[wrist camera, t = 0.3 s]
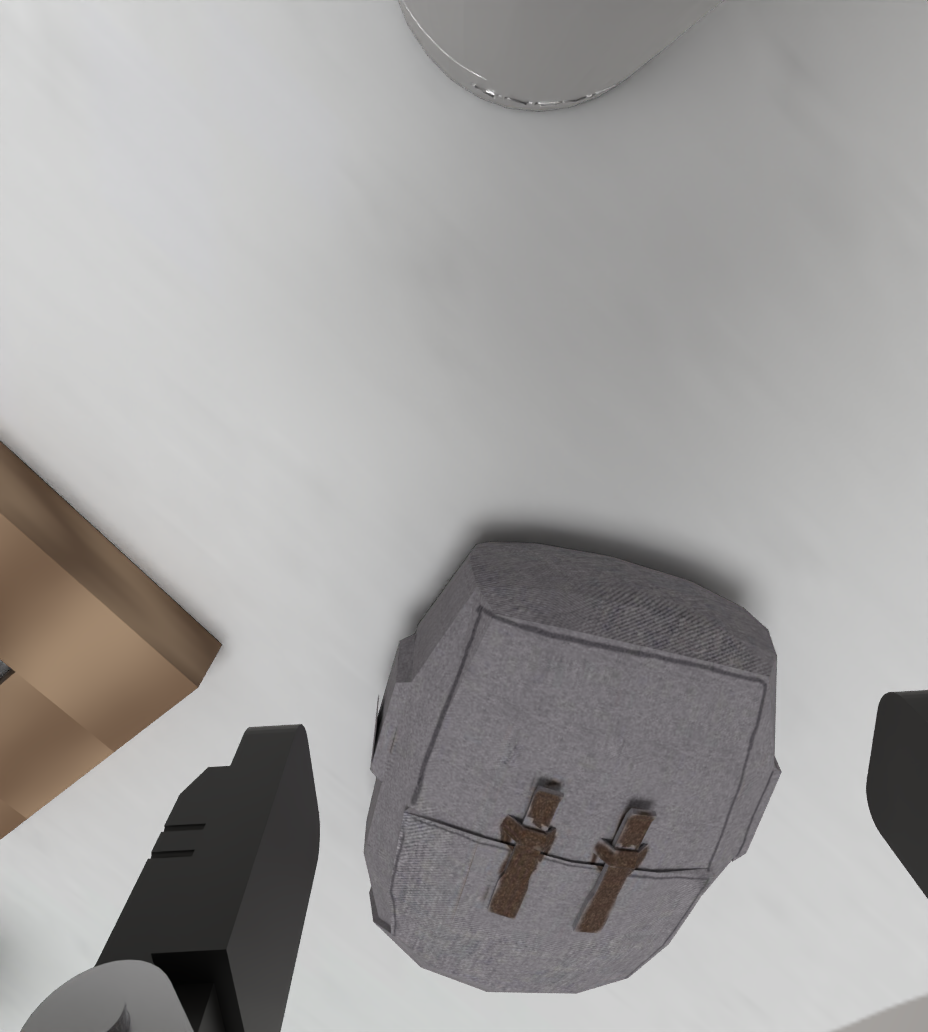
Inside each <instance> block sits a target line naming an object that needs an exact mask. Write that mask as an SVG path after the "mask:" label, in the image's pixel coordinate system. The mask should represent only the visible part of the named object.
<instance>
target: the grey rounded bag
mask: <svg viewBox="0 0 928 1032" xmlns="http://www.w3.org/2000/svg"><path fill="white" fill-rule="evenodd" d="M776 675H777V655H776V652H775V649H774V646H773V643H772V640H771V637H770V634H769V631H768V629H767V628H766V627H764V626H763V625H762V624H761V623H760V622H759V621H758V620H757V619H756V618H754V617H753V616H752V615H751V614H750V613H749V612H748V611H747V610H746V609H744V608H743V607H741V606H739V605H737V604H735V603H733V602H731V601H729V600H727V599H725V598H723V597H721V596H719V595H717V594H715V593H713V592H711V591H709V590H707V589H705V588H703V587H701V586H699V585H697V584H695V583H693V582H692V581H689V580H686V579H683V578H679V577H676V576H673V575H670V574H667V573H663V572H660V571H657V570H654V569H650V568H647V567H644V566H641V565H637V564H634V563H631V562H628V561H624V560H621V559H618V558H614V557H611V556H607V555H601V554H595V553H590V552H584V551H578V550H573V549H567V548H562V547H556V546H550V545H545V544H539V543H517V542H486V543H481V544H476V545H475V547H474V548H473V549H472V551H471V552H470V554H469V555H468V556H467V558H466V559H465V561H464V562H463V563H462V565H461V566H460V567H459V569H458V570H457V572H456V573H455V574H454V576H453V577H452V579H451V580H450V581H449V583H448V584H447V585H446V587H445V588H444V590H443V591H442V592H441V594H440V595H439V597H438V598H437V599H436V601H435V602H434V603H433V605H432V606H431V608H430V609H429V610H428V612H427V613H426V615H425V616H424V617H423V619H422V620H421V621H420V623H419V624H418V627H417V630H416V634H414V635H412V636H409V637H407V638H405V639H403V640H401V641H400V643H399V646H398V649H397V653H396V656H395V659H394V663H393V666H392V670H391V673H390V676H389V680H388V683H387V686H386V690H385V693H384V696H383V700H382V703H381V707H380V710H379V713H378V702H379V696H378V702H377V713H376V724H375V733H374V742H373V750H372V759H371V768H370V770H371V771H372V772H373V773H374V775H375V776H376V781H375V786H374V790H373V795H372V799H371V803H370V808H369V812H368V816H367V821H366V832H365V844H364V856H365V860H366V865H367V869H368V873H369V877H370V882H371V889H370V892H369V894H370V901H371V908H372V915H373V922H374V923H375V924H376V925H377V926H379V927H380V928H381V929H382V930H383V931H384V932H385V933H386V934H387V935H388V936H389V937H390V938H391V939H392V940H393V941H394V942H395V943H396V944H397V945H398V946H399V947H400V948H401V949H402V950H403V951H404V952H406V953H407V954H408V955H409V956H410V957H411V958H412V959H413V960H414V961H415V962H416V963H417V964H418V965H419V966H420V967H422V968H424V969H427V970H430V971H432V972H435V973H438V974H440V975H443V976H446V977H449V978H451V979H454V980H457V981H459V982H462V983H465V984H467V985H470V986H473V987H476V988H478V989H481V990H484V991H486V992H522V993H575V994H576V993H579V992H583V991H586V990H589V989H593V988H596V987H599V986H603V985H606V984H610V983H613V982H616V981H620V980H623V979H626V978H628V977H630V976H631V975H632V974H633V973H635V972H636V971H637V970H638V969H639V968H641V967H642V966H643V965H644V964H645V963H647V962H648V961H649V960H650V959H651V958H653V957H654V956H655V955H656V954H657V953H659V952H660V951H661V950H662V949H663V948H665V947H666V946H667V945H668V944H669V943H670V942H671V940H672V939H673V937H674V936H675V934H676V933H677V931H678V930H679V928H680V927H681V925H682V924H683V922H684V921H685V920H686V918H687V917H688V915H689V914H690V912H691V911H692V909H693V908H694V906H695V905H696V903H697V902H698V900H699V899H700V897H701V896H702V895H703V893H704V892H705V891H706V890H707V889H708V888H709V886H710V885H711V884H712V883H713V882H714V880H715V879H716V878H717V877H718V876H719V875H720V873H721V872H722V871H723V870H724V869H725V867H726V866H727V865H728V864H729V863H730V861H731V860H732V861H734V860H736V859H737V858H739V857H741V856H742V855H744V854H745V853H746V852H747V850H748V848H749V845H750V843H751V841H752V838H753V836H754V834H755V832H756V829H757V827H758V825H759V822H760V820H761V818H762V816H763V813H764V811H765V809H766V806H767V804H768V802H769V799H770V797H771V795H772V793H773V790H774V788H775V786H776V783H777V781H778V779H779V777H780V774H781V770H780V768H779V765H778V763H777V760H776V758H775V756H774V753H775V714H776ZM377 714H378V717H377Z"/></svg>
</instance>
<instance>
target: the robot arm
mask: <svg viewBox="0 0 928 1032" xmlns="http://www.w3.org/2000/svg"><path fill="white" fill-rule="evenodd" d="M398 1H399V4H400V6H401V9H402V11H403V14H404V16H405V19H406V21H407V24H408V26H409V27H410V29H411V30H412V32H413V34H414V35H415V37H416V38H417V40H418V41H419V43H420V45H421V46H422V48H423V49H424V51H425V52H426V54H427V55H428V56H429V57H430V58H431V59H432V60H433V61H434V62H435V63H436V65H437V66H438V67H439V68H440V69H441V70H442V71H443V72H444V73H445V74H446V75H447V76H448V77H449V78H450V79H451V80H453V81H454V82H456V83H457V84H459V85H460V86H462V87H463V88H465V89H466V90H468V91H469V92H471V93H473V94H474V95H476V96H477V97H479V98H482V99H485V100H487V101H490V102H493V103H496V104H498V105H501V106H504V107H506V108H513V109H522V110H531V111H545V110H553V109H561V108H569V107H572V106H574V105H577V104H580V103H583V102H585V101H588V100H591V99H593V98H596V97H599V96H600V95H602V94H604V93H605V92H607V91H608V90H610V89H612V88H614V87H616V86H618V85H619V84H620V83H621V82H622V81H624V80H625V79H627V78H628V77H629V76H631V75H632V74H633V73H634V72H636V71H637V70H638V69H639V68H641V67H642V66H643V65H644V64H645V63H647V62H648V61H649V60H651V59H652V58H653V57H655V56H656V55H657V54H659V53H660V52H661V51H662V50H664V49H665V48H666V47H667V46H669V45H670V44H671V43H672V42H673V41H675V40H676V39H677V38H678V37H680V36H681V35H682V34H683V33H684V32H686V31H687V30H688V29H689V28H691V27H692V26H693V25H694V24H695V23H697V22H698V21H699V20H700V19H702V18H703V17H704V16H705V15H706V14H708V13H709V12H710V11H711V10H713V9H714V8H715V7H716V6H718V5H719V4H720V3H721V2H722V1H724V0H398ZM866 793H867V801H868V806H869V810H870V813H871V816H872V819H873V821H874V823H875V825H876V827H877V829H878V831H879V832H880V834H881V835H882V837H883V838H884V839H885V841H886V842H887V843H888V845H889V846H890V848H891V849H892V850H893V852H894V853H895V854H896V856H897V857H898V859H899V860H900V861H901V863H902V864H903V865H904V867H905V868H906V869H907V871H908V872H909V874H910V875H911V876H912V878H913V879H914V880H915V882H916V883H917V885H918V886H919V887H920V889H921V890H922V891H923V893H924V894H925V896H926V897H927V898H928V690H921V691H904V692H888V693H886V694H885V695H884V696H883V697H882V698H881V700H880V702H879V706H878V711H877V717H876V724H875V730H874V737H873V743H872V750H871V756H870V763H869V769H868V776H867V783H866ZM319 842H320V821H319V811H318V804H317V797H316V791H315V784H314V778H313V771H312V764H311V758H310V751H309V745H308V738H307V734H306V730H305V728H304V726H303V725H302V724H298V725H281V726H263V727H249V728H247V730H246V731H245V733H244V735H243V737H242V740H241V742H240V744H239V747H238V749H237V751H236V754H235V756H234V758H233V761H232V763H231V766H221V767H208V768H207V769H206V770H205V771H204V772H203V773H202V774H201V775H200V776H199V777H198V778H196V779H195V780H194V781H193V782H192V783H191V784H190V785H189V786H188V787H187V788H186V789H185V790H184V791H183V792H182V793H181V794H180V795H179V797H178V799H177V801H176V803H175V805H174V807H173V809H172V811H171V813H170V815H169V817H168V819H167V821H166V823H165V829H164V832H161V834H160V836H159V838H158V840H157V842H156V844H155V846H154V848H153V850H152V852H151V853H152V856H151V859H148V860H147V862H146V864H145V866H144V868H143V870H142V872H141V874H140V876H139V878H138V880H137V882H136V884H135V886H134V888H133V890H132V892H131V894H130V896H129V898H128V900H127V902H126V904H125V906H124V908H123V910H122V912H121V915H120V917H119V919H118V921H117V923H116V925H115V927H114V929H113V931H112V933H111V935H110V937H109V939H108V941H107V943H106V945H105V947H104V949H103V951H102V953H101V955H100V957H99V959H98V961H97V963H96V965H95V966H94V967H93V968H91V969H89V970H87V971H85V972H83V973H81V974H78V975H77V976H75V977H74V978H72V979H70V980H69V981H67V982H66V983H64V984H63V985H62V986H60V987H59V988H58V989H56V990H55V991H54V992H52V993H51V994H50V995H49V996H48V997H47V998H46V999H45V1000H44V1001H43V1002H42V1003H41V1004H40V1005H39V1006H38V1007H37V1009H36V1010H35V1011H34V1012H33V1013H32V1014H31V1016H30V1017H29V1019H28V1020H27V1022H26V1023H25V1024H24V1026H23V1027H22V1029H21V1031H20V1032H280V1031H281V1026H282V1022H283V1017H284V1013H285V1008H286V1003H287V999H288V994H289V990H290V985H291V980H292V976H293V971H294V967H295V962H296V958H297V953H298V948H299V944H300V939H301V935H302V930H303V925H304V921H305V916H306V912H307V907H308V902H309V898H310V893H311V889H312V884H313V879H314V875H315V870H316V866H317V860H318V854H319Z"/></svg>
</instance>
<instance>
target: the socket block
mask: <svg viewBox="0 0 928 1032" xmlns="http://www.w3.org/2000/svg"><path fill="white" fill-rule="evenodd" d="M221 646H222V644H220V643H219V642H218V641H217V640H216V639H215V638H214V637H213V636H212V635H211V634H210V633H209V632H207V631H206V630H205V629H204V628H203V627H202V626H201V625H200V624H199V623H198V622H197V621H195V620H194V619H193V618H192V617H191V616H190V615H189V614H188V613H187V612H186V611H185V610H183V609H182V608H181V607H180V606H179V605H178V604H177V603H176V602H175V601H174V600H173V599H171V598H170V597H169V596H168V595H167V594H166V593H165V592H164V591H163V590H162V589H161V588H159V587H158V586H157V585H156V584H155V583H154V582H153V581H152V580H151V579H150V578H149V577H148V576H146V575H145V574H144V573H143V572H142V571H141V570H140V569H139V568H138V567H137V566H136V565H134V564H133V563H132V562H131V561H130V560H129V559H128V558H127V557H126V556H125V555H124V554H122V553H121V552H120V551H119V550H118V549H117V548H116V547H115V546H114V545H113V544H112V543H110V542H109V541H108V540H107V539H106V538H105V537H104V536H103V535H102V534H101V533H100V532H98V531H97V530H96V529H95V528H94V527H93V526H92V525H91V524H90V523H89V522H88V521H87V520H85V519H84V518H83V517H82V516H81V515H80V514H79V513H78V512H77V511H76V510H75V509H73V508H72V507H71V506H70V505H69V504H68V503H67V502H66V501H65V500H64V499H63V498H61V497H60V496H59V495H58V494H57V493H56V492H55V491H54V490H53V489H52V488H51V487H49V486H48V485H47V484H46V483H45V482H44V481H43V480H42V479H41V478H40V477H39V476H37V475H36V474H35V473H34V472H33V471H32V470H31V469H30V468H29V467H28V466H27V465H26V464H24V463H23V462H22V461H21V460H20V459H19V458H18V457H17V456H16V455H15V454H14V453H12V452H11V451H10V450H9V449H8V448H7V447H6V446H5V445H4V444H3V443H2V442H0V660H1V661H3V662H4V663H5V664H6V665H8V666H9V667H10V668H11V669H10V670H9V671H8V672H7V673H5V674H4V675H3V676H2V677H1V678H0V839H2V838H3V837H4V836H6V835H7V834H8V833H10V832H11V831H12V830H13V829H15V828H16V827H17V826H19V825H20V824H21V823H23V822H24V821H25V820H26V819H28V818H29V817H30V816H32V815H33V814H34V813H36V812H37V811H38V810H39V809H41V808H42V807H43V806H45V805H46V804H47V803H49V802H50V801H51V800H52V799H54V798H55V797H56V796H58V795H59V794H60V793H62V792H63V791H64V790H65V789H67V788H68V787H69V786H71V785H72V784H73V783H75V782H76V781H77V780H78V779H80V778H81V777H82V776H84V775H85V774H86V773H88V772H89V771H90V770H91V769H93V768H94V767H95V766H97V765H98V764H99V763H101V762H102V761H103V760H104V759H106V758H107V757H108V756H110V755H111V754H112V753H114V752H115V751H116V750H117V749H119V748H120V747H121V746H123V745H124V744H125V743H127V742H128V741H129V740H130V739H132V738H133V737H134V736H136V735H137V734H138V733H140V732H141V731H142V730H143V729H145V728H146V727H147V726H149V725H150V724H151V723H153V722H154V721H155V720H156V719H158V718H159V717H160V716H162V715H163V714H164V713H166V712H167V711H168V710H169V709H171V708H172V707H173V706H175V705H176V704H177V703H179V702H180V701H181V700H182V699H184V698H185V697H186V696H188V695H189V694H190V693H192V692H193V691H194V690H196V689H197V688H198V687H199V685H200V683H201V681H202V680H203V678H204V676H205V674H206V672H207V671H208V669H209V667H210V665H211V664H212V662H213V660H214V658H215V656H216V655H217V653H218V651H219V649H220V647H221Z"/></svg>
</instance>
